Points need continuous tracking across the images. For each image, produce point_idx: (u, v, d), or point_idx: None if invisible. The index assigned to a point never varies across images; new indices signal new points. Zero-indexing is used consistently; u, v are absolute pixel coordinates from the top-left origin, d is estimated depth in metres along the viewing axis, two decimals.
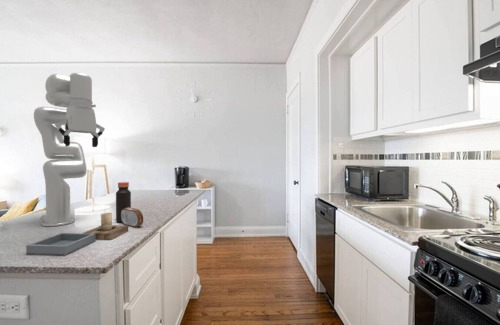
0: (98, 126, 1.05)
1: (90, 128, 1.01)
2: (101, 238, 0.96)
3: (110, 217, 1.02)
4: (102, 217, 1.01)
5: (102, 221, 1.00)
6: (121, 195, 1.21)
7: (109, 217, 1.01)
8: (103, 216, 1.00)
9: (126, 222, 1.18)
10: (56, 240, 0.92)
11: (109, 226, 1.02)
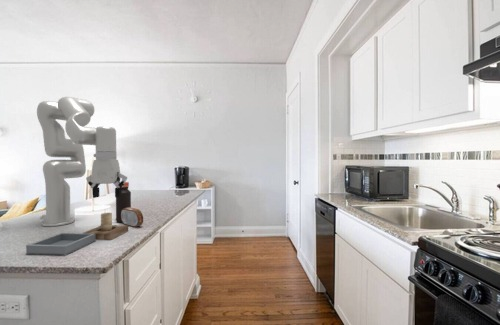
0: None
1: None
2: (101, 238, 0.96)
3: (110, 217, 1.02)
4: (102, 217, 1.01)
5: (102, 221, 1.00)
6: (121, 195, 1.21)
7: (109, 217, 1.01)
8: (103, 216, 1.00)
9: (126, 222, 1.18)
10: (56, 240, 0.92)
11: (109, 226, 1.02)
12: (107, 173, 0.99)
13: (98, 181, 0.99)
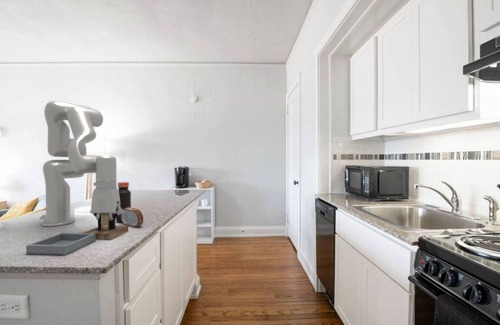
0: None
1: None
2: (101, 238, 0.96)
3: None
4: (102, 217, 1.01)
5: (102, 221, 1.00)
6: (121, 195, 1.21)
7: (109, 217, 1.01)
8: (103, 216, 1.00)
9: (126, 222, 1.18)
10: (56, 240, 0.92)
11: None
12: (107, 203, 0.99)
13: (98, 210, 1.00)
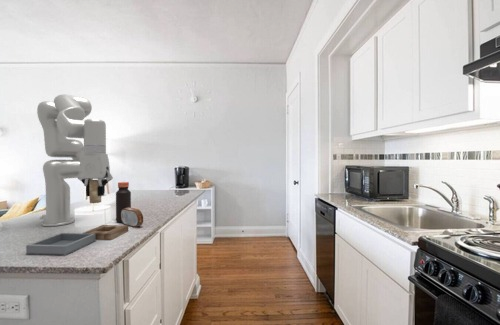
0: None
1: None
2: (101, 238, 0.96)
3: None
4: (91, 183, 0.96)
5: (91, 187, 0.96)
6: (121, 195, 1.21)
7: (98, 183, 0.97)
8: (92, 182, 0.96)
9: (126, 222, 1.18)
10: (56, 240, 0.92)
11: None
12: (96, 168, 0.95)
13: (86, 176, 0.95)
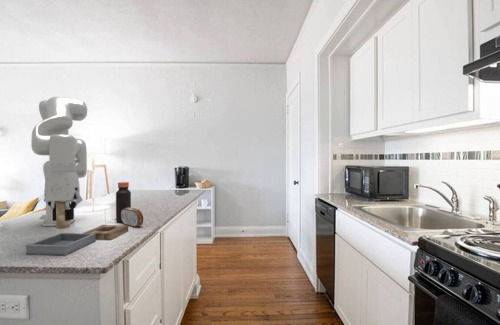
0: None
1: None
2: (101, 238, 0.96)
3: None
4: (57, 206, 0.86)
5: (57, 210, 0.86)
6: (121, 195, 1.21)
7: (65, 206, 0.87)
8: (58, 205, 0.86)
9: (126, 222, 1.18)
10: (56, 240, 0.92)
11: None
12: (62, 189, 0.85)
13: (51, 198, 0.85)
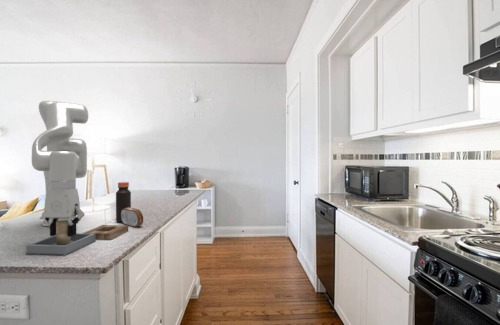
0: None
1: None
2: (101, 238, 0.96)
3: (67, 225, 0.88)
4: (57, 225, 0.86)
5: (57, 230, 0.86)
6: (121, 195, 1.21)
7: (66, 225, 0.87)
8: (58, 224, 0.86)
9: (126, 222, 1.18)
10: None
11: (66, 235, 0.87)
12: (62, 206, 0.85)
13: (52, 215, 0.85)
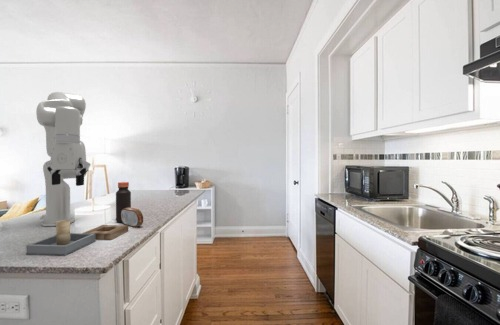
0: None
1: None
2: (101, 238, 0.96)
3: (67, 225, 0.87)
4: (57, 225, 0.86)
5: (57, 230, 0.86)
6: (121, 195, 1.21)
7: (66, 225, 0.87)
8: (58, 224, 0.86)
9: (126, 222, 1.18)
10: None
11: (66, 235, 0.87)
12: (67, 158, 0.90)
13: (57, 167, 0.90)
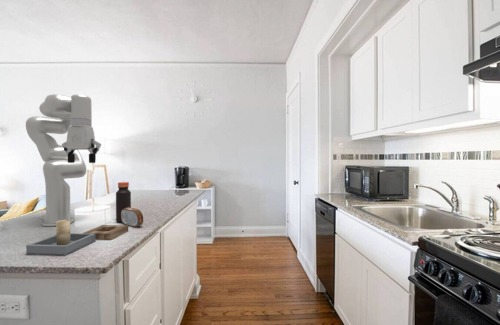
0: None
1: None
2: (101, 238, 0.96)
3: (67, 225, 0.88)
4: (57, 225, 0.86)
5: (58, 230, 0.86)
6: (121, 195, 1.21)
7: (66, 225, 0.87)
8: (58, 224, 0.86)
9: (126, 222, 1.18)
10: None
11: (66, 235, 0.87)
12: (81, 139, 1.04)
13: (73, 146, 1.04)
